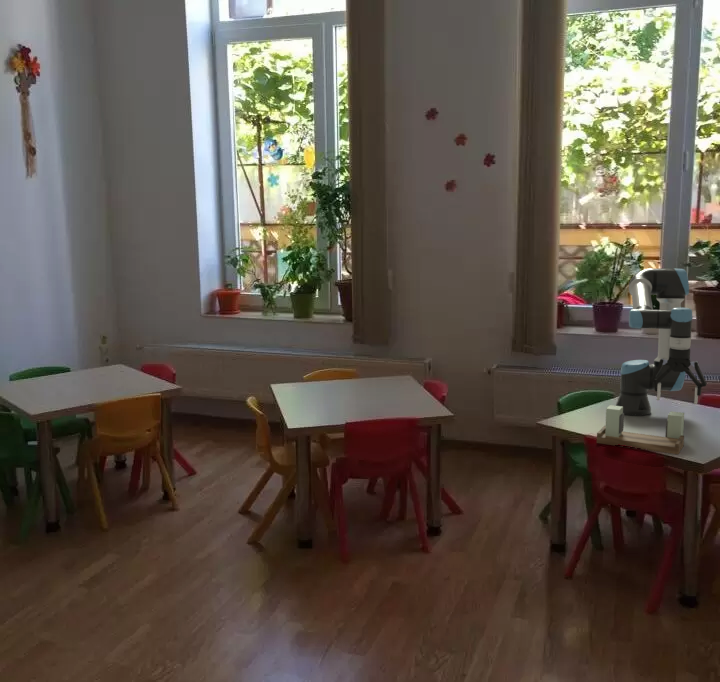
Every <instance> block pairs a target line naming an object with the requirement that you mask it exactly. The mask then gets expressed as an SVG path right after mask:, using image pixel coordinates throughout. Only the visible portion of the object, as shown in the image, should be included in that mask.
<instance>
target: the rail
mask: <svg viewBox="0 0 720 682" xmlns="http://www.w3.org/2000/svg"><path fill="white" fill-rule="evenodd" d="M605 430H606V425H604V426H603V427H602V428H600V429H599V431H597V432H596V444H601V445H608V446H609V445H611V446H615V445H618V444H620V445H626V446H632V447H636V448H635V449H637V448H641V449H640V450H644V449H647V450H646V451H653V452H658V453H664V454H665V453H666V454H673V455H679V454H680V453H681V451H682V449H683V447H684V444H685V435H683V436H682V435H681V436H680V437H679V439H676V438H669V437H665V436H659V435H652V434H645V433H638V432H630V431H629V432H628V431H624V430H623V431H622V434H621V435H620V436H619V437H612V436H605Z"/></svg>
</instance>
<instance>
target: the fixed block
mask: <svg viewBox="0 0 720 682" xmlns="http://www.w3.org/2000/svg"><path fill="white" fill-rule="evenodd" d="M624 423H625V414H624V413H623V407H622V406H616V405H613V404H610V405H608V406H607V408H606V409H605V426H606V430H605V436H612V437H619V436H620V435H621V434H622V431H623V432H624V426H625V424H624Z"/></svg>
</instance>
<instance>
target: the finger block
mask: <svg viewBox="0 0 720 682" xmlns="http://www.w3.org/2000/svg"><path fill="white" fill-rule="evenodd" d="M665 423H666V424H665V436H664V437H669V438H676V439H679V437H680V436H681V435H682V436H684V426H685V412H678V411H670V412H668V414H667V418H666V421H665Z"/></svg>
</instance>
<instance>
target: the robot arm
mask: <svg viewBox="0 0 720 682" xmlns="http://www.w3.org/2000/svg"><path fill="white" fill-rule="evenodd" d="M628 293H629V295H631V299H632V309H630V310H629V313H628V327H629V328H631V329H640V330H641V329H655V330H656V329H658V345H657V356H656V358H654V360H653V363H650V362H649V360H648V359H647V360H646V359H634V360H628V361H625V362H623V363H622V364H621V369H620V386H619V387H620V389H619V396H618V398H617V401H616V404H615V406H622V407H623V413H624V416H626V415H627V416H634V417H636V416H637V417H638V416H640V417H641V416H647V415H651V413H652V412H651V411H652V407H651V404H650V401H649V397H648V391H654V392H657V393H656V400H657V401H660V399H661V391H665V392H666V391H667V392H679V391H681V390H682V388H683V386H684V383H685V379H686V375H687V376H688V378H690V380H692V382H693V383H694V384H695V387H694V388H695V389H694V402H693V404H694V405H697V404H698V403H699V402H698V401H699V400H698V399H699V396H701V395H702V388H703V387H706V386H707V385H708V384H707V381H706V379H705V376H704V374H703V373H702V370H701V369H700V364H699V361H698V360H696V361H691V349H690V348H691V343H692V342H691V341H692V326H693V318H694V317H693V310H692V309H691V308H689V307H682V302H683V301H685V299H686V296H688V295H689V294H690V284H689V277H688V272H687V271H686V269H684V268H677V267H676V268H675V267H674V268H672V267H671V268H667V267H666V268H665V267H664V268H663V267H662V268H653V267H652V268H650V267H649V268H644V269H642V270H641V271H638V272H636V273H635V274H634V275H633V276H632V277H631V279H630V281H629V283H628ZM652 295H653V296H654V295H656V300H657V301H658V302H659V309H654V308H653V302H652ZM690 366H692V368H694V370H695V372H696V375H697V376H698V378H697V377H696V376H695V374H694V373H693V372H692V371H691V369H690V368H689V367H690Z"/></svg>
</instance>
